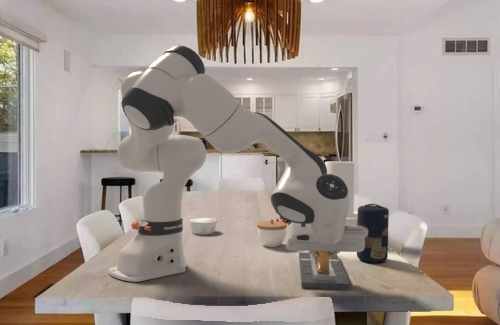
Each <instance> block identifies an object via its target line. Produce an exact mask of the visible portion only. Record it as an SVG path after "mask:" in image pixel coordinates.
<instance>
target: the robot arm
mask: <svg viewBox="0 0 500 325" xmlns="http://www.w3.org/2000/svg"><path fill="white" fill-rule="evenodd" d="M205 67H206V66H205V65H204V62H203V60H202V58H201V56H199V54H198V53H197V52H196V51H194V49H192V48H190V47H187V46H184V45H178V44H177V45H175V46H173V47H171V48H170V49H169V48H168V49H167V50H166V51H165V52H164V53H163V54H162V55H161V56H160V57H159V58H158V59H156V60H155V61H154V62H153V63H151V65H150V66H148V67H147V68H146V69H145V71H135V72H132V73H130V74H128V75H127V76H126V77H125V78H123V81H122V82H121V87H120V92H121V93H120V94H121V108H122V112H123V113H124V115H125V116H126V118H127V120H128V123H129V127H130V130H131V133H130V134H128V135H127V136H125V137H124V138H122V139H121V141H120V142H119V144H118V147H117V150H116V153H117V154H116V156H117V157H116V158H117V161H118V162H119V164H120V165H121V167H122V168H123V169H124V170H127V171H133V172H137V173H138V172H139V173H163V175H162V176H163V177H162V180H161V181H160V182H158V183H155V184H153V185H152V186H150V187H148V188H147V189H146V190H145V192H144V193H143V197H142V211H143V212H142V217H143V218H142V219H141V222H135V221H133V222H131V224H130V228H131V229H132V230H137V233H136V234H135V236H134V237H133V238H132V239H131V240H130V241H129V242H128V243H127V244H125V245H124V246H123V247H122V248H121V249H120V250H119V253H118V255H117V262H116V266H113V267H111V268H109V269H108V274H109V276H111V277H112V278H116V279H119V280H122V281H124V282H125V281H127V282H131V283H132V282H133V283H137V282H143V281H147V280H148V281H149V280H152V279H158V278H162V277H167V276H172V275H177V274H182V273H185V272H186V267H188V264H187V261H186V260H187V259H186V257H185V253H184V246H183V244H184V243H183V237H182V236H183V234H182V232H183V230H184V227H183V226H184V223H183V221H184V220H183V218H182V203H183V202H182V201H183V193H184V189H185V187H186V185H187V183H188V181H189V180H190V178H191V177H192V176H193V175H194V174H195V173H196V172H197V171H199V170H200V169H202V167H203V165H204V163H205V162H206V159H207V149H206V146H205V144H204V142H203V141H202V140H201V139H200V138H199V137H196V136H191V135H185V134H172V133H173V130H174V125H175V117H179V118H180V117H181V118H184V119H185V120H186V121H188V122H189V123H191V125H192V126H193V128H195V129H196V131H198V133H199V134H200V135H201V137H203V138H204V139H205V140H206V141H207V143H209V144H210V145H211V146H212V147H213V148H214V149H216V150H217V151H219V152H222V153H227V154H234V153H239V152H241V151H244V150H246V149H248V148H250V147H251V146H253V145H255V144H256V143H261V144H263V145H265V146H267V148H268V149H270V150H271V151H272V152H274V153H275V154H276V155H277V156H278V157H280V158H281V159H282V160H283V162H284V165H285V168H284V171H283V173H282V175H281V177H280V179H279V181H278V182H277V184H276V186H275V188H274V190H273V192H272V194H271V196H270V202H271V206H272V207H273V209H274V211H275V213H276V212H277V213H276V214H277V215H279V217H280V216H281V217H282V218H283V219H285V221H286V220H288V222H290V223H289V225H287V231H286V237H285V248H286V249H288V251H302V252H303V251H307V252H308V253H309V252H310V253H311V254H312V257H318V252H317V251H329V257H333V258H335V255H336V254H337V255H338V254H339V253H340V252H342V253H343V252H345V253H357V252H361V251H363V250H364V248H365V239H364V238H365V237H367V235H368V229H366V228H363V226H347V225H346V216H347V213H348V208H349V191H348V187H347V185H346V184H345V182H344V181H343V180H342V179H341V178H340V177H338V176H336V175H333V174H327V168H326V165H325V162H324V160H323V159H322V158H321V156H319V155H318V154H316V153H315V152H313V151H312V150H310V149H308V148H307V147H305V146H304V145H303V144H301V143H300V142H299V141H298V140H297V139H295V138H294V137H293V136H292V135H290V133H289V132H287V131H286V130H285V129H284V128H282V126H280V125H279V124H278V123H276V122H275V121H274V120H273V119H272V118H270V117H269V116H268V115H266V114H263V113H262V112H256V111H255V112H254V111H251V110H249V109H248V108H247V107H245V106H244V105H243V104H242V103H241V102H240V101H239V99H238V98H236V97H235V96H234V95H233V93H232V92H230V91H229V90H228V89H227V88H226V87H224V85H222V84H221V83H220V82H219V81H217V80H216V79H215V78H213V77H212V76H210V75H209V74H207V73H206V68H205Z"/></svg>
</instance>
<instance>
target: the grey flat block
mask: <svg viewBox="0 0 500 325" xmlns="http://www.w3.org/2000/svg"><path fill="white" fill-rule="evenodd" d="M298 260H299V274H301V275H300V283H301V285H300V287H301V286H302V287H301V289H315V290H316V289H318V290H319V289H320V290H341V289H350V288H351V284H350V281H349V278H348V277H347V274H346V272H345V270H344V267H343V265H342V263H341V261H340V258H339V256H338V254H336V255H335V258H333V257H329V271H328V274H319V272H318V270H317V257H312V254H311V253H310V252H309V251H308V252H303V251H302V252H301V251H300V252H298ZM350 290H351V289H350Z"/></svg>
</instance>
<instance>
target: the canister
mask: <svg viewBox="0 0 500 325" xmlns="http://www.w3.org/2000/svg"><path fill="white" fill-rule="evenodd" d="M357 211H358V216H357V226H363V228H366V229H368V235H367V237H365V238H364V239H365V248H364V250H363V251H361V252H356V256H357V258H358V259H359V260H361V261H364V262H368V263H383V262H386V261H387V260H388V253H389V252H388V249H389V222H390V221H389V217H390V211H389V208H388V207H385V206H382V205H379V204H377V203H368V204H364V205H361V206H359V207H358V208H357Z"/></svg>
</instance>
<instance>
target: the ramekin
mask: <svg viewBox="0 0 500 325" xmlns="http://www.w3.org/2000/svg"><path fill="white" fill-rule="evenodd" d="M217 222H218V221H217V219H216V218H213V217H212V218H211V217H196V218H191V219H189V224H190V231H191V233H192V234H194V235H199V236H200V235H211V234H214V233H215V231H216V226H217Z"/></svg>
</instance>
